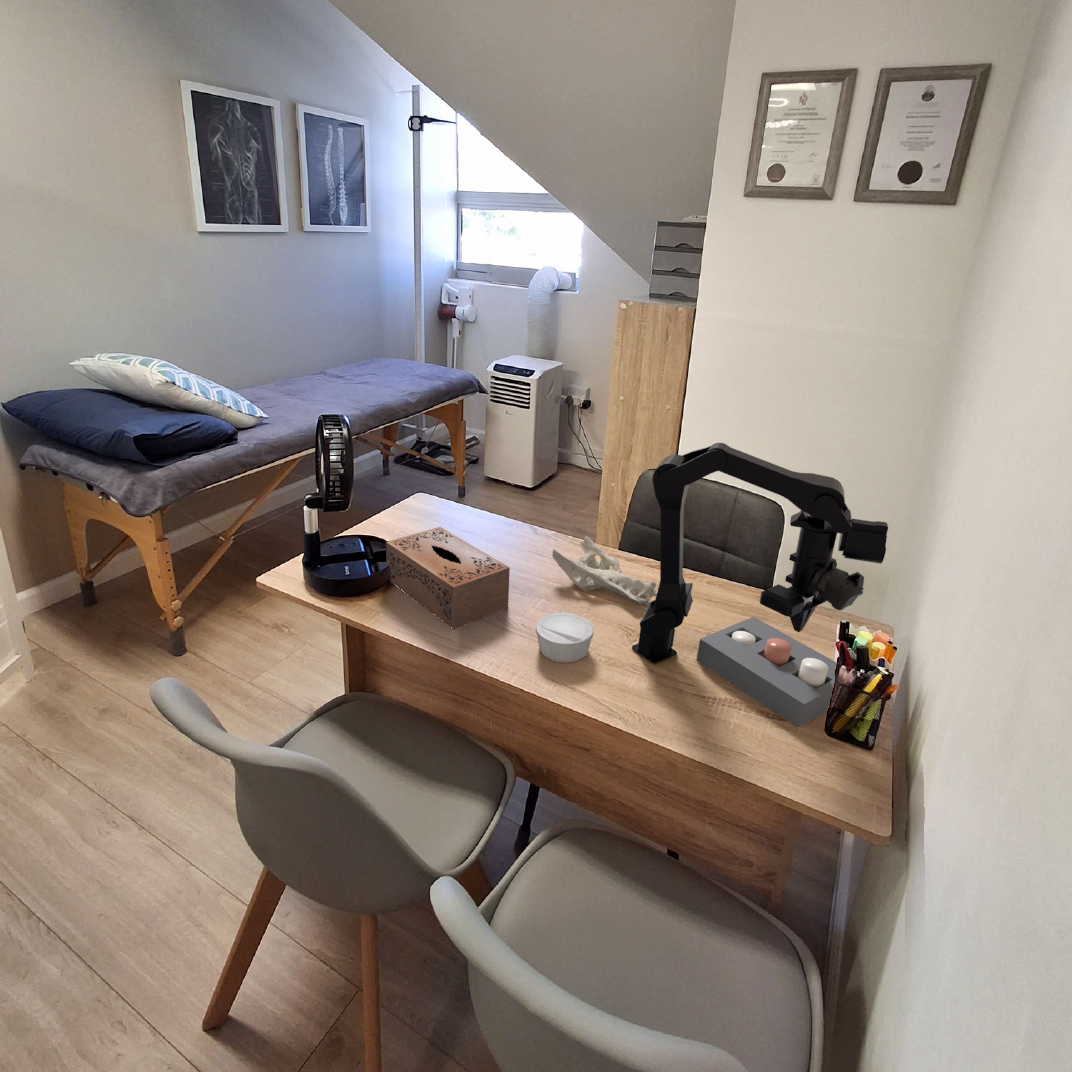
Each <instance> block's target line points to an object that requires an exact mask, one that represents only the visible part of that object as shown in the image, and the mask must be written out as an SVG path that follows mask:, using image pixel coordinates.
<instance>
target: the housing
mask: <svg viewBox="0 0 1072 1072" xmlns="http://www.w3.org/2000/svg"><path fill="white" fill-rule="evenodd" d="M736 631H745V632H748V633H751V634H752V635H754V636H755V638H756V641H755V643H753V644H751V645H749V646H747V647H745V646H744V645H742V644H741V643H739V642H737V641H736V640H734V639H732V634H733V633H734V632H736ZM770 638H779V639H783V640H785V641H787V642H789V643H790V644H791V646H792V648H791V653H790V657H789V661H788V663H786V664H784V665H782V666H780V667H779V666H777V665H775V664H774V663H772V662H770V661H769V660H767V659H765V658H764V657H763V656H762V655H764V652H765V647H766V643H767V640H768V639H770ZM805 658H815V659H818V660H821V661H823V662H824V663H825V664H826V665H827V666H828V672H827V675H826V679H825V683H824V685H822V686H820V687H819V688H817V689H815V688H814V687H812V686H810V685H809V684H807V683H805V682H804V681H802V680H800V679H799V678H798V675H799V671H800V667H801V663H802V660H803V659H805ZM696 662H698V663H699V664H701V665H702V666H703V667H705V668H707V669H708V670H710V671H712V672H713V673H714V674H715V675H718V676H719V677H721V678H722V679H723V680H724V681H727V683H730V684H731V685H733V686H734V687H735V688H737V689H738V690H740V691H741V692H743V693H744V694H745V695H748V696H749V697H750V698H751V699H753V700H755V701H757V703H759V704H761V705H762V706H764V707H765V708H767V709H768V710H770V711H771V712H773V713H775V714H776V715H777V716H779V717H780V718H782V719H783V720H785V721H786V722H788V723H790V724H791V725H793V726H794V727H796V728H797V729H799V728H801V727H803V726H804V725H806V724H807V723H808V724H809V723H810V722H811V721H812V720H815V719H816V718H819V716H821V715H823V714H825V713H826V712H828V711H827V709H828V706H829V704H830V699H831V697H832V691H833V688H834V682H835V667H836V663H838V662H836V661H835V660H833V659H831V658H829V657H828V656H826V655H824V654H823V653H820V652H819V651H817V650H815V649H813V648H811V647H810V646H808V645H806V644H804V643H802V642H800V641H799V640H797V639H795V638H793V637H792V636H790V635H788V634H786V633H784V632H782V631H781V630H779V629H777V628H775V627H774V626H772V625H770V624H769V623H766V622H764V621H763V620H761V619H759V618H757V617H755V616H752V617H749V618H746V619H744V620H742V621H739V622H737V623H735V624H732V625H730V626H728V627H725V628H722V629H720V630H718V631H715V632H713V633H711V634H709V635H705V636H704V637H702V638H700V639H699V643H698V648H697V655H696Z"/></svg>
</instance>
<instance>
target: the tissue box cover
mask: <svg viewBox="0 0 1072 1072" xmlns="http://www.w3.org/2000/svg"><path fill="white" fill-rule="evenodd" d="M385 549H386V550H385V551H386V554H385V555H386V566H387V565H389V566H390V567H391V580H392V582H393V583H394V584H395V585H397V586H398V587H399V588H400V589H402V590H403V591H404V592H405V593H406V594H408V595H409V596H410V597H412V598H413V599H414V600H416V601H417V602H418V603H420V604H421V605H422V606H423V608H424V607H425V608H426V609H428V610H429V611H430V612H432V613H433V614H435V615H436V616H437V617H439V618H440V619H441V620H443V621H442V623H444V622H445V623H446V624H445V623H444V624H445V625H447V624H448V625H449V626H450V627H449V626H448V625H447V626H448V627H449V628H451V627H452V628H451V630H455V629H454V628H456V629H457V627H458V628H460V626H461V627H462V626H463V627H464V626H465V625H464V624H466V625H467V624H470V622H471V623H472V622H475V621H477V619H478V620H480V619H483V618H485V617H488V616H490V614H491V615H493V614H496V613H499V612H501V611H503V610H505V609H508V608H509V598H510V597H509V591H510V573H511V572H510V570H511V569H510V566H508V565H506V564H504V563H503V562H501V561H500V560H497V559H496V558H494V557H492V556H491V555H489V554H487V553H485V552H484V551H482V550H480V549H479V548H477V547H475V546H474V545H472V544H470V543H468V542H467V541H465V540H463V539H462V538H460V537H458V536H456V535H455V534H453V533H451V532H450V531H448V530H446V529H445V528H443V527H441V526H438V527H435V528H432V529H428V530H424V531H420V532H417V533H413V534H410V535H409V534H408V535H406V536H402V537H399V538H396V539H391V540H388V541H385ZM400 589H399V590H400ZM404 592H403V593H404ZM405 593H404V594H405ZM406 594H405V595H406ZM408 595H407V596H408ZM409 596H408V597H409ZM410 597H409V598H410ZM412 598H411V599H412ZM413 599H412V600H413ZM414 600H413V601H414ZM416 601H415V602H416ZM417 602H416V603H417ZM418 603H417V604H418ZM420 604H419V605H420ZM421 605H420V606H421ZM422 606H421V607H422ZM425 608H424V609H425ZM426 609H425V610H426ZM428 610H427V611H428ZM429 611H428V612H429ZM430 612H429V613H430ZM432 613H431V614H432ZM433 614H432V615H433ZM435 615H434V616H435ZM436 616H435V617H436ZM437 617H436V618H437ZM439 618H438V619H439ZM440 619H439V620H440ZM441 620H440V621H441Z"/></svg>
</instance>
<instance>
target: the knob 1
mask: <svg viewBox="0 0 1072 1072" xmlns="http://www.w3.org/2000/svg"><path fill="white" fill-rule="evenodd" d="M732 639H734V640H736V641H737V642H739V643H741V644H742V645H744V646H745V647H747V646H749V645H751V644H753V643H755V641H756V638H755V636H754V635H752V634H751V633H748V632H745V631H736V632H734V633H733V634H732Z"/></svg>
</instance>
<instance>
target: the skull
mask: <svg viewBox="0 0 1072 1072" xmlns="http://www.w3.org/2000/svg"><path fill="white" fill-rule="evenodd" d="M580 546H581V549H582V551H583V552H584V554H583V555H582V556H580V557H579V559H576V560H574V561H573V560H572V559H570V558H567V557H566V556H564V555H563V554H561V553H560V552H559V551H557V550H556V549H553V548H552V551H551V553H552V554H551V555H552V558H553V559H554V561H555V562H556V563H557V565H558V567H559V568H560V569H561V570H562V571H563V572H564V573H565V574H566V576H567V577H568V578H569V580H570V581H571V582H573V584H574V585H575V586H576V587H578V588H579V589H580V590H582V591H593V590H595V589H605V590H609V591H612V592H615V593H617V594H619V595H621V596H623V597H626V598H627V599H629V600H631V601H633V602H635V603H637V604H639V605H644V606H646V607H648V605H649V603H650V602H651V599H652V598H653V597H656V595H657V592H658V590H657V589H656V587H657V583H656V582H655V581H649V582H645V581H644V580H642V579H640V578H633V577H631V576H628V575H626V574H625V573H624V572H623V571H622V569H621V567H620V562H619V560H618V556H617V555H616V554H613V557H610V556H608V555H606V552H605V551H604V549H602V547H600V546H599V545H598V544H596V543H595V542H594V541H593V540H592V539H591V538H590V537H588V536H586V535H584V538H583V540H581V541H580ZM596 556H599V558H600V561H598V560H597V559H596V558H595V557H596Z"/></svg>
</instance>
